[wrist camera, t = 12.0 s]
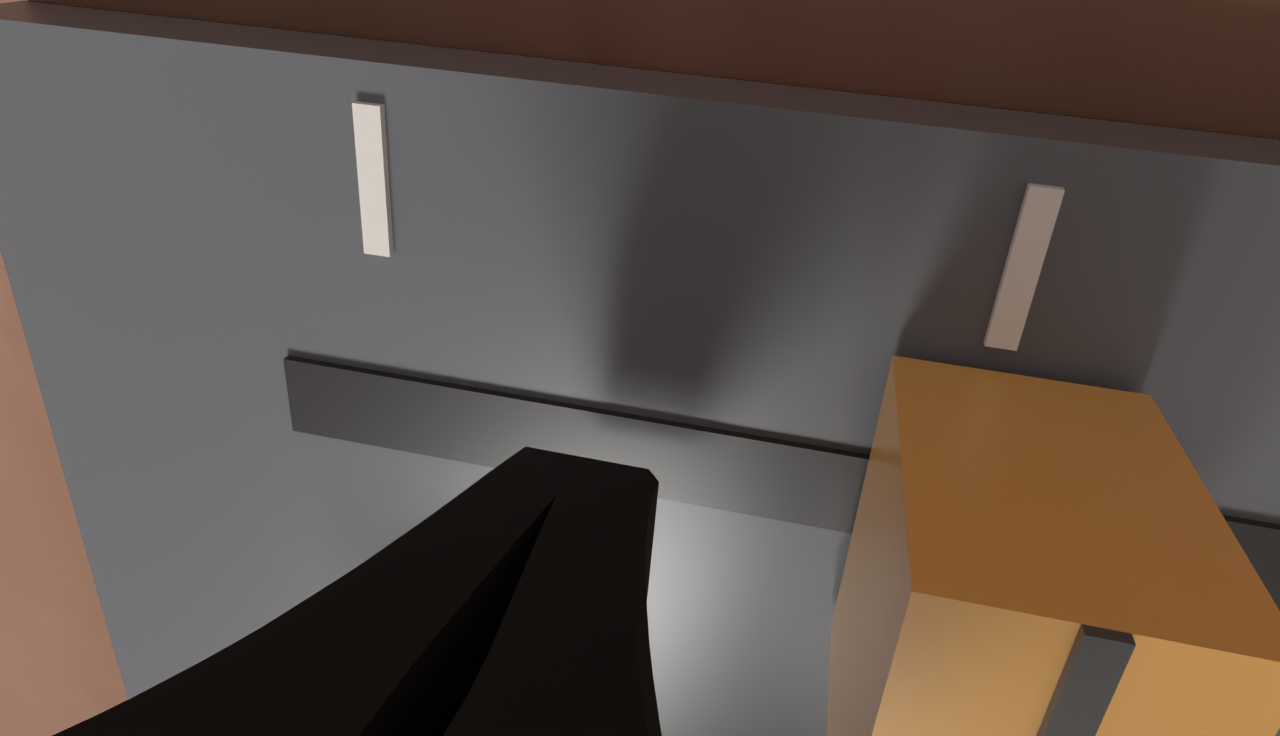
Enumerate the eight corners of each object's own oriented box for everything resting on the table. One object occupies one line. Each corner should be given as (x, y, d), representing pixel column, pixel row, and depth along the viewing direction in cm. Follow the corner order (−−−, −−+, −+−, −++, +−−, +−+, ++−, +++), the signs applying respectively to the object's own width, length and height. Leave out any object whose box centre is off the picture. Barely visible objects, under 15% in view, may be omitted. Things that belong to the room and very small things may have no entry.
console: (1323, 1101, 15) (1361, 1202, 14) (216, 815, 18) (173, 877, 17) (2081, 228, 8) (2295, 284, 6) (22, -1, 11) (-76, 12, 10)
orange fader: (1044, 668, 10) (1127, 1008, 7) (830, 626, 11) (819, 930, 7) (1151, 394, 9) (1322, 679, 5) (892, 355, 9) (912, 600, 6)
